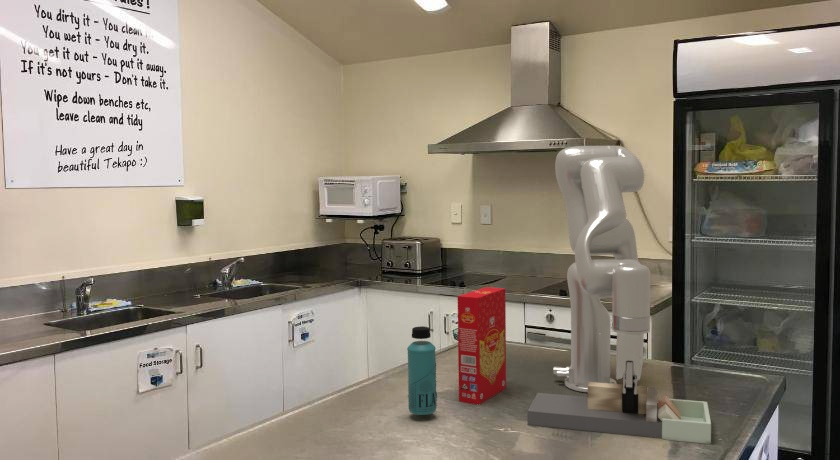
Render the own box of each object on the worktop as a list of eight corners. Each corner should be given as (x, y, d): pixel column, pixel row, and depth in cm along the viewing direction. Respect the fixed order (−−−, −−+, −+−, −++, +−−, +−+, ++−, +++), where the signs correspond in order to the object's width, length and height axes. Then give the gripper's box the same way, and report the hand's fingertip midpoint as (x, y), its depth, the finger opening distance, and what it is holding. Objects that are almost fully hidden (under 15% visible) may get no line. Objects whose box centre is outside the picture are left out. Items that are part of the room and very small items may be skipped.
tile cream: (657, 416, 142) (665, 410, 142) (658, 409, 147) (665, 404, 146) (673, 434, 142) (681, 428, 141) (673, 426, 146) (681, 421, 145)
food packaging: (478, 404, 164) (477, 297, 162) (458, 401, 166) (457, 296, 164) (506, 388, 176) (505, 288, 174) (487, 384, 179) (486, 287, 177)
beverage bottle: (416, 423, 152) (414, 332, 150) (402, 414, 158) (401, 326, 156) (442, 418, 155) (441, 328, 153) (428, 409, 161) (427, 323, 159)
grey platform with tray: (527, 425, 150) (527, 407, 149) (538, 404, 163) (538, 387, 162) (710, 444, 138) (711, 424, 138) (706, 420, 151) (707, 401, 151)
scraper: (585, 415, 146) (585, 392, 146) (591, 398, 158) (591, 376, 157) (656, 422, 142) (656, 397, 141) (657, 404, 153) (657, 381, 153)
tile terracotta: (658, 407, 148) (665, 401, 147) (658, 400, 152) (665, 395, 152) (672, 424, 147) (680, 418, 147) (672, 417, 151) (680, 411, 151)
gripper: (615, 315, 157) (614, 396, 158) (609, 330, 141) (609, 420, 143) (650, 316, 154) (650, 399, 155) (648, 332, 139) (648, 424, 140)
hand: (630, 408), depth 149 cm, fingers closed on scraper, 3 cm apart
